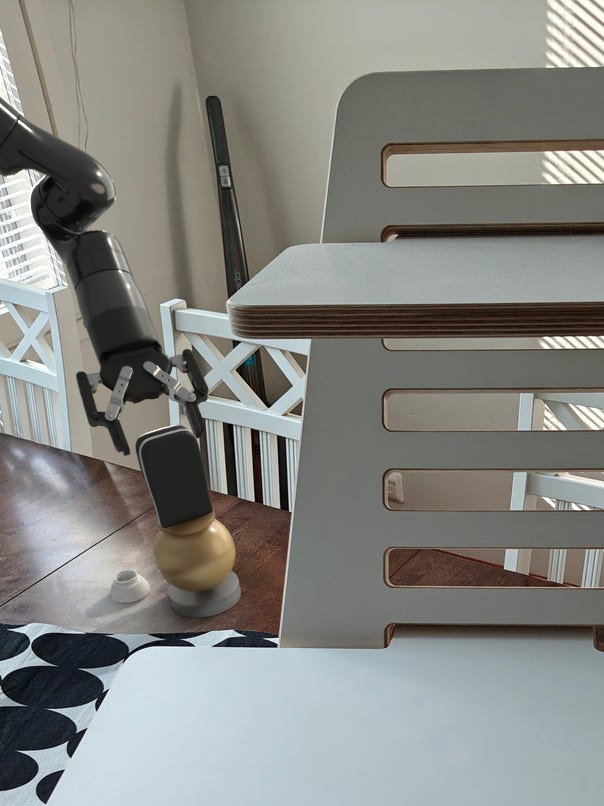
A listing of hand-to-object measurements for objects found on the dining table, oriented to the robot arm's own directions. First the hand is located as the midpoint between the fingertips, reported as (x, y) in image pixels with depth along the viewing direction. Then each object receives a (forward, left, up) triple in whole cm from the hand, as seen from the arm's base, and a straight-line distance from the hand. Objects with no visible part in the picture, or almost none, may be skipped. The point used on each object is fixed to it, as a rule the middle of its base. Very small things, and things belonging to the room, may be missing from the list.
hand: (163, 444), depth 116 cm
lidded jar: (+1, -1, -21) cm, 21 cm away
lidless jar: (-9, +1, -22) cm, 24 cm away
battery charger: (0, -1, -9) cm, 9 cm away
